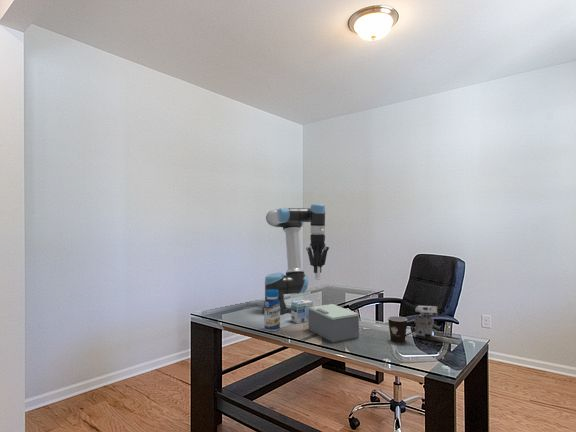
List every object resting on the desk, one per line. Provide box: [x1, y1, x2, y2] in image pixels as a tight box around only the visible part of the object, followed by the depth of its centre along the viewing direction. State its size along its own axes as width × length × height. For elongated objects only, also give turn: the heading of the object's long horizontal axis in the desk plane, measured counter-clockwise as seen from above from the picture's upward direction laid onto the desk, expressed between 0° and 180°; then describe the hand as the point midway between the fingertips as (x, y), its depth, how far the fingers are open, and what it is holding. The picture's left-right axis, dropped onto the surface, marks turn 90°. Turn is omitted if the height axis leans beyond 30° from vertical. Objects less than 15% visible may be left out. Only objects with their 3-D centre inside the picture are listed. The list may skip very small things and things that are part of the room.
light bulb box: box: [290, 299, 314, 324], centre depth 194 cm, size 11×7×11 cm, turn 123°
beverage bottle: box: [263, 289, 281, 332], centre depth 179 cm, size 8×8×20 cm
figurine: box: [413, 305, 443, 340], centre depth 165 cm, size 9×12×15 cm
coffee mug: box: [387, 315, 416, 344], centre depth 160 cm, size 12×9×10 cm
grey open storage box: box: [308, 310, 360, 343], centre depth 172 cm, size 22×15×10 cm
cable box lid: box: [309, 303, 360, 320], centre depth 172 cm, size 22×15×2 cm
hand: (317, 279), depth 179 cm, fingers closed
